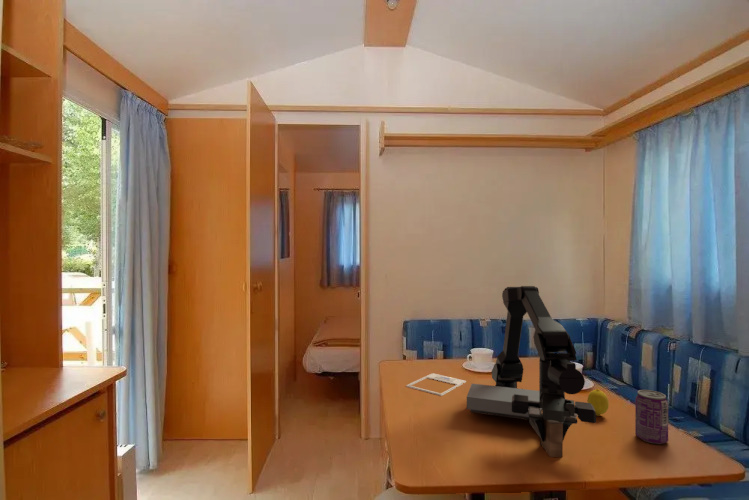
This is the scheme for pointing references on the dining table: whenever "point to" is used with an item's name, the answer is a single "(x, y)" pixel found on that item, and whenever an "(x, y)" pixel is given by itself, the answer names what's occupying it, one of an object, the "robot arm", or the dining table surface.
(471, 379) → the dining table surface
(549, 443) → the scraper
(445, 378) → the photo frame
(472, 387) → the grey rectangular block
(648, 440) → the beverage can
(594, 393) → the lemon
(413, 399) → the dining table surface
